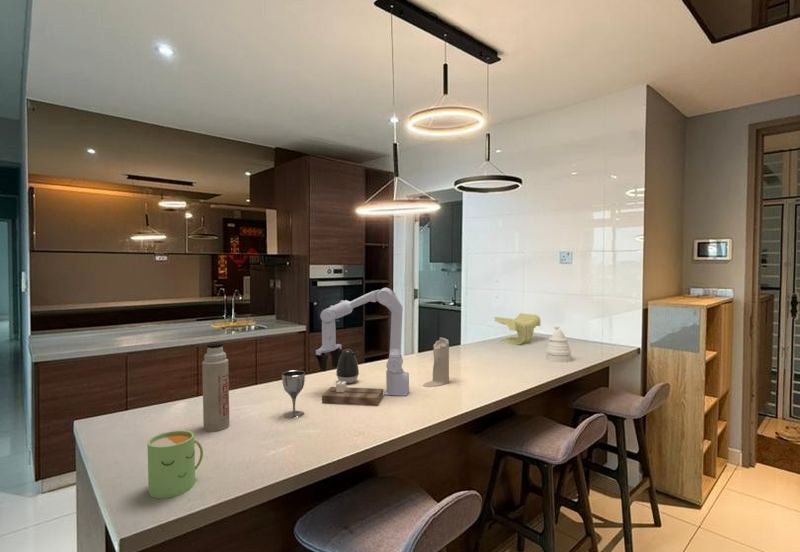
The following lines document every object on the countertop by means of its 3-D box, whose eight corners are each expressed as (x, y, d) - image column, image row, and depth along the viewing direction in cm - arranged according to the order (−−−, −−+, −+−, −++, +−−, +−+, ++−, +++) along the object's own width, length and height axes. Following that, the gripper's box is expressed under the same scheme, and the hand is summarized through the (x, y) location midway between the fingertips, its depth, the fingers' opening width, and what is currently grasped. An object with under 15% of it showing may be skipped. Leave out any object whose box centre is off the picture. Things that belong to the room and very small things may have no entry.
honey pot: (542, 357, 245) (542, 326, 244) (563, 356, 246) (563, 325, 246) (552, 362, 232) (552, 329, 232) (575, 362, 234) (575, 329, 233)
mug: (158, 503, 98) (157, 451, 98) (142, 487, 105) (141, 439, 105) (212, 482, 108) (211, 434, 107) (195, 469, 115) (194, 424, 114)
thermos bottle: (234, 425, 145) (233, 343, 144) (213, 433, 139) (211, 347, 138) (219, 420, 150) (218, 340, 149) (198, 428, 143) (196, 344, 142)
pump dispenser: (355, 385, 191) (355, 351, 190) (333, 384, 193) (332, 351, 192) (362, 379, 201) (361, 347, 200) (340, 378, 203) (340, 346, 202)
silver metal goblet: (285, 419, 150) (284, 377, 150) (280, 412, 157) (279, 372, 157) (307, 415, 154) (307, 374, 153) (302, 409, 161) (301, 369, 160)
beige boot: (419, 384, 192) (419, 340, 191) (440, 379, 201) (440, 336, 200) (430, 388, 186) (430, 342, 186) (452, 382, 196) (452, 338, 195)
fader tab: (346, 389, 174) (346, 381, 174) (343, 392, 170) (343, 384, 170) (339, 389, 175) (339, 381, 175) (336, 392, 171) (336, 383, 171)
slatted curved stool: (515, 347, 275) (515, 319, 274) (494, 343, 287) (494, 316, 286) (540, 341, 295) (540, 315, 294) (520, 338, 307) (520, 313, 306)
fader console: (383, 396, 176) (383, 388, 176) (377, 405, 164) (377, 397, 164) (331, 393, 179) (331, 386, 179) (322, 403, 168) (321, 395, 167)
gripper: (332, 333, 189) (332, 364, 190) (309, 338, 177) (310, 371, 177) (345, 334, 186) (345, 366, 186) (323, 340, 173) (323, 373, 174)
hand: (329, 368), depth 182 cm, fingers open, 7 cm apart
